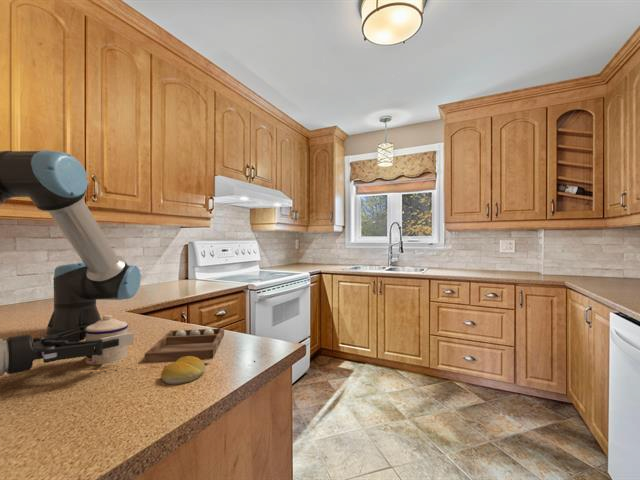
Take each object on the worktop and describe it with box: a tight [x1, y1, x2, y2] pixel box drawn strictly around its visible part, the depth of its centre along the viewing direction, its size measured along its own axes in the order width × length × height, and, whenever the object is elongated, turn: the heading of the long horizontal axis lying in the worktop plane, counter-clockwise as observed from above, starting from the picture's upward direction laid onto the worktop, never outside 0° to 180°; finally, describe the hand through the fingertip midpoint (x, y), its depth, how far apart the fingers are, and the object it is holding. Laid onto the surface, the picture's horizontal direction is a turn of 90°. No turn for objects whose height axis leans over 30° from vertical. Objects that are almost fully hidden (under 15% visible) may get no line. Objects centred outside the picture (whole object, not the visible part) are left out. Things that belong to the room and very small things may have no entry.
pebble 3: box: [204, 328, 214, 335], centre depth 96 cm, size 3×3×3 cm
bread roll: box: [160, 356, 206, 385], centre depth 72 cm, size 8×9×4 cm
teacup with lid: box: [85, 314, 129, 365], centre depth 79 cm, size 12×9×12 cm
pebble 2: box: [190, 328, 200, 335], centre depth 96 cm, size 3×3×3 cm
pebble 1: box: [175, 329, 186, 336], centre depth 95 cm, size 3×3×3 cm
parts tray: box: [144, 327, 225, 363], centre depth 89 cm, size 21×16×3 cm
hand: (123, 333), depth 82 cm, fingers closed on teacup with lid, 12 cm apart
